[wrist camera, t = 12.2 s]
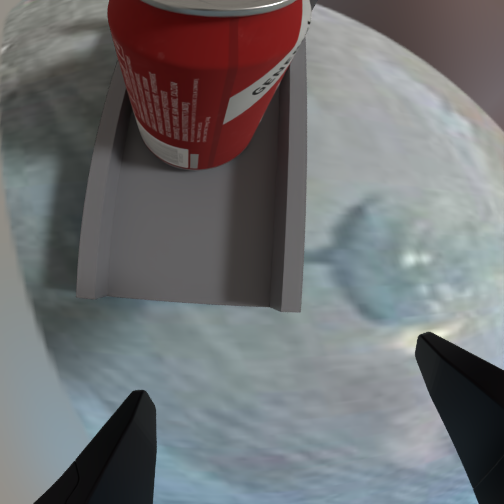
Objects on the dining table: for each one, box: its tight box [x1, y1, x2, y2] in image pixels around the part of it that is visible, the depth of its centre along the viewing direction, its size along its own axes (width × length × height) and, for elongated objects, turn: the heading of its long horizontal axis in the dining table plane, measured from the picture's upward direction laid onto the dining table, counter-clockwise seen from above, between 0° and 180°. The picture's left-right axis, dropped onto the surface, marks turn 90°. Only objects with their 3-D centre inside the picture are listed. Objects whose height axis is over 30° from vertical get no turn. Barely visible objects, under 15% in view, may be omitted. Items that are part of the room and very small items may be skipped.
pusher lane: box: [76, 0, 317, 312], centre depth 16 cm, size 19×11×6 cm, turn 177°
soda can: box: [108, 0, 311, 171], centre depth 12 cm, size 7×7×12 cm
